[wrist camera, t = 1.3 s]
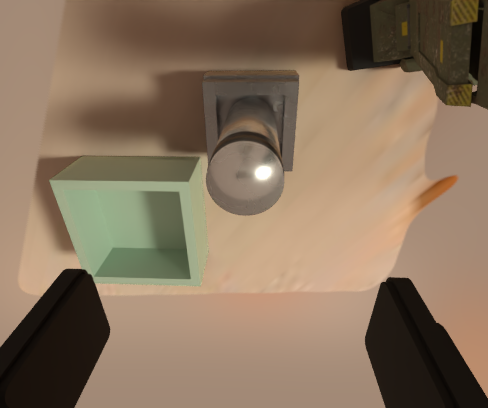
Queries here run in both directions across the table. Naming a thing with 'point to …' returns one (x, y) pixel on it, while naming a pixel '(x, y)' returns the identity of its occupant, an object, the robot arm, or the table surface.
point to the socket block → (252, 86)
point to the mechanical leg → (423, 43)
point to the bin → (136, 218)
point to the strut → (247, 160)
